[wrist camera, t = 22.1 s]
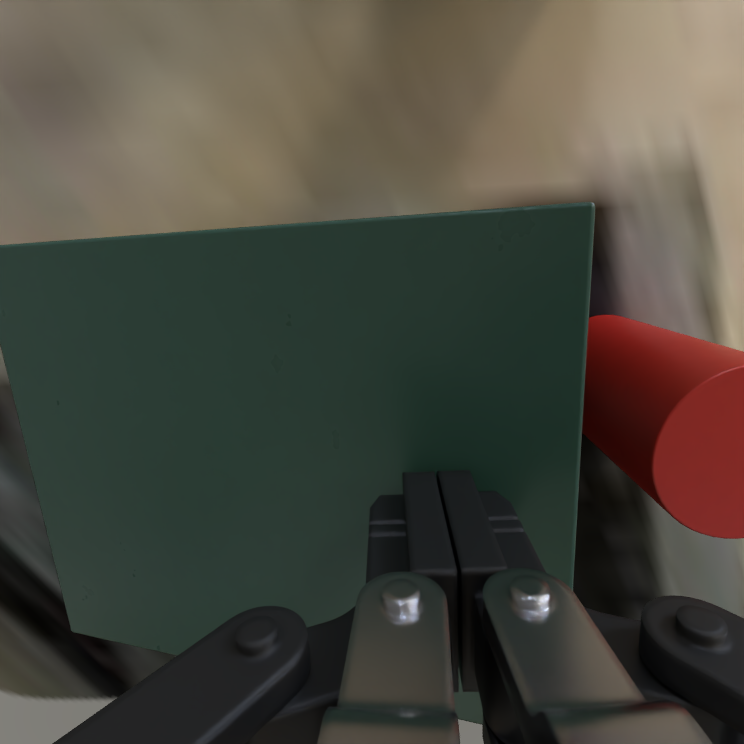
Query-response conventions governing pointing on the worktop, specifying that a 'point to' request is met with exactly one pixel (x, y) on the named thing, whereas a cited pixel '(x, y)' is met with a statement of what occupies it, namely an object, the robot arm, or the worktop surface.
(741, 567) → the worktop surface
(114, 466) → the lid
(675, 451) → the tin
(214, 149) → the worktop surface
